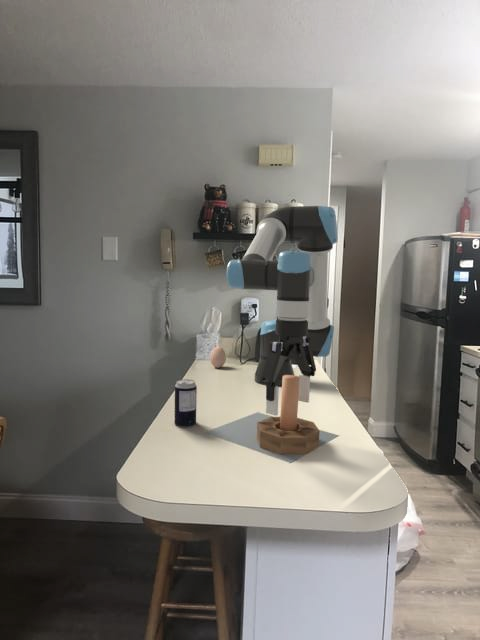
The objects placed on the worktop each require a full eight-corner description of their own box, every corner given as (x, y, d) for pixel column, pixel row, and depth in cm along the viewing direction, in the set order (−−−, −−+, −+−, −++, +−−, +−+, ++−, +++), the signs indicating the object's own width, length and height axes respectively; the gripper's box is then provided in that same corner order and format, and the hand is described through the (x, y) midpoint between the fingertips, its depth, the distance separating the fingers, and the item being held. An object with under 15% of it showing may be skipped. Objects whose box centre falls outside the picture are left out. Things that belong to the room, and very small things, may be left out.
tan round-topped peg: (285, 437, 110) (288, 374, 108) (298, 442, 108) (302, 377, 106) (275, 442, 107) (279, 376, 105) (289, 446, 105) (293, 379, 103)
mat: (257, 414, 129) (257, 412, 129) (338, 437, 113) (339, 435, 113) (204, 434, 113) (204, 432, 112) (290, 465, 96) (290, 463, 96)
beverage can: (199, 423, 120) (200, 380, 119) (190, 430, 115) (191, 385, 113) (180, 421, 122) (180, 378, 121) (170, 427, 117) (171, 382, 115)
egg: (227, 366, 190) (227, 345, 189) (223, 369, 184) (223, 348, 183) (212, 365, 192) (212, 344, 191) (207, 368, 185) (208, 347, 184)
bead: (279, 427, 117) (280, 412, 117) (327, 442, 108) (328, 426, 108) (246, 442, 106) (246, 426, 106) (295, 460, 97) (296, 442, 97)
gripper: (306, 313, 116) (302, 393, 118) (245, 321, 97) (243, 416, 99) (332, 316, 111) (328, 399, 113) (274, 324, 92) (270, 424, 94)
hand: (288, 407), depth 106 cm, fingers open, 13 cm apart
